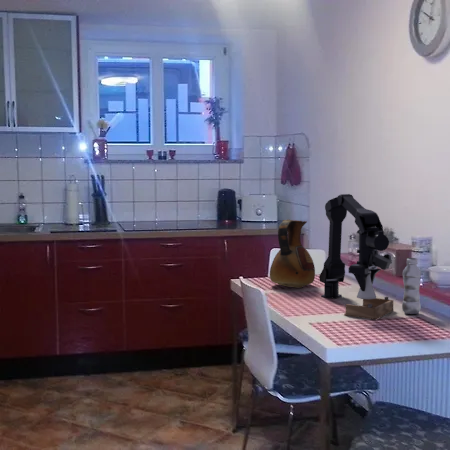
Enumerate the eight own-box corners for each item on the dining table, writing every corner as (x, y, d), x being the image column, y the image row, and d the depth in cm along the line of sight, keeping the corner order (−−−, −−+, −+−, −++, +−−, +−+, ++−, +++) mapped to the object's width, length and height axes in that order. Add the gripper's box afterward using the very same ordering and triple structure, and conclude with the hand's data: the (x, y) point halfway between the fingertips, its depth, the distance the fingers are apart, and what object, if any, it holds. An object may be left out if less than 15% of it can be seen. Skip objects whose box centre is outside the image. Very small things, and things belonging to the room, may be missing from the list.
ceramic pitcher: (322, 284, 283) (322, 218, 280) (302, 292, 266) (302, 222, 263) (283, 281, 293) (282, 216, 290) (262, 288, 276) (261, 220, 273)
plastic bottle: (420, 312, 229) (421, 257, 227) (420, 316, 223) (421, 260, 221) (402, 311, 231) (403, 257, 229) (401, 315, 225) (402, 259, 223)
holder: (362, 306, 239) (363, 293, 239) (393, 310, 232) (393, 297, 232) (344, 315, 226) (344, 301, 225) (375, 319, 219) (376, 305, 218)
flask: (353, 296, 232) (354, 269, 231) (373, 295, 233) (373, 268, 232) (359, 300, 225) (359, 272, 224) (379, 299, 226) (379, 272, 225)
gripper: (378, 252, 215) (377, 297, 217) (398, 245, 230) (397, 287, 232) (348, 249, 221) (347, 293, 223) (369, 243, 237) (368, 284, 238)
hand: (366, 289), depth 229 cm, fingers closed on flask, 5 cm apart
